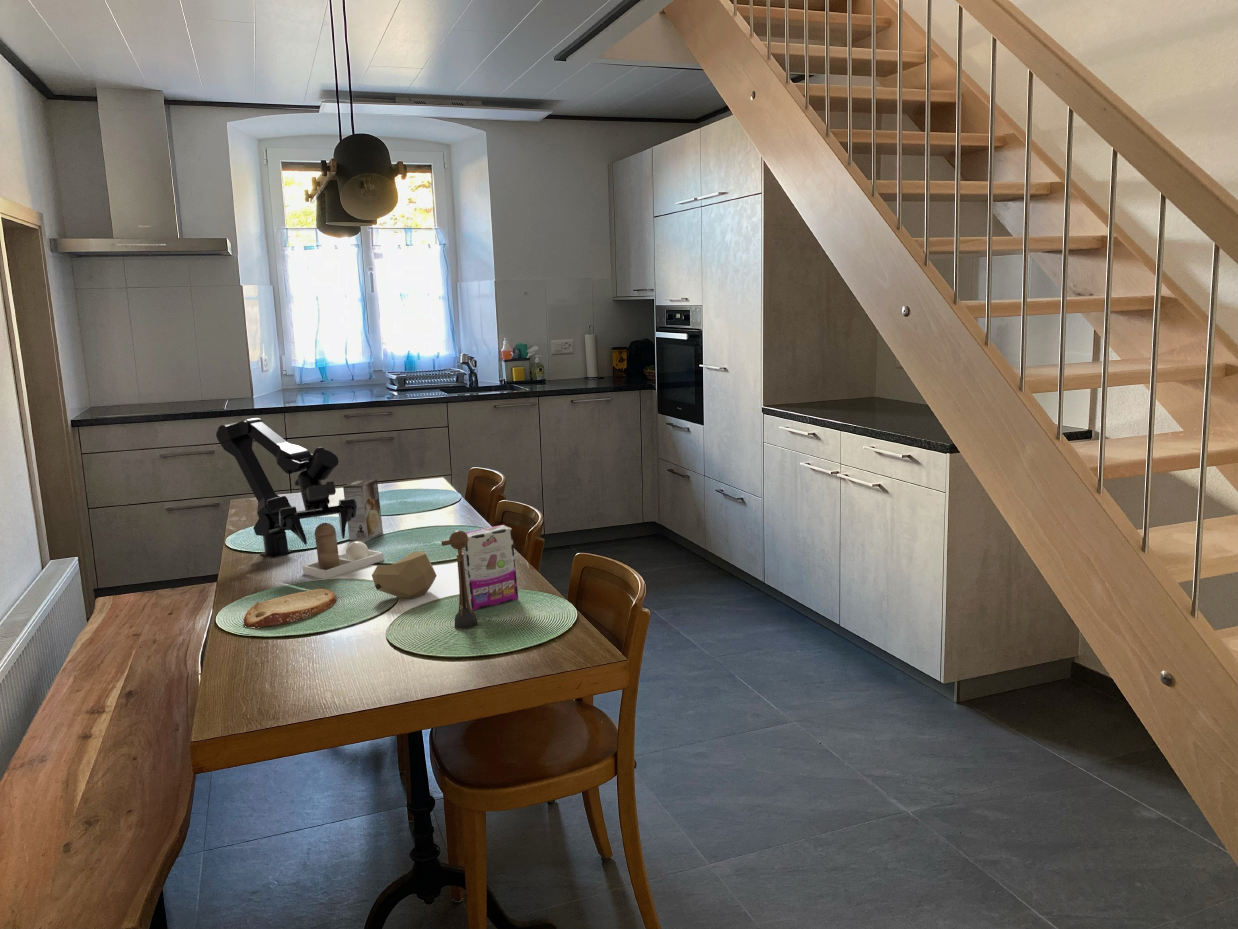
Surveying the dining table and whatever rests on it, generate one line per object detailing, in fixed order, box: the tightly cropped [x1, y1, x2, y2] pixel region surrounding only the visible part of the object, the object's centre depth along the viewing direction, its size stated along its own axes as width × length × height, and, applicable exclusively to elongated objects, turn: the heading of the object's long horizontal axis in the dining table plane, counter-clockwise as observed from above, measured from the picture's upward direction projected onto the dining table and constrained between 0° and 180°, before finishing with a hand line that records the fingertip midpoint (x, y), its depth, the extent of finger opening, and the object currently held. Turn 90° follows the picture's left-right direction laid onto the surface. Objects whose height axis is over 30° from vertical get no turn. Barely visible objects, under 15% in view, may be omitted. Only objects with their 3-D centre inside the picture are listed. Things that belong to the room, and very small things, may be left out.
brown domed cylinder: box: [314, 522, 340, 570], centre depth 225 cm, size 5×5×12 cm
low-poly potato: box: [371, 550, 437, 600], centre depth 205 cm, size 15×11×12 cm
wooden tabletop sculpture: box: [441, 529, 479, 630], centre depth 183 cm, size 6×5×20 cm
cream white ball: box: [345, 540, 369, 561], centre depth 233 cm, size 6×6×6 cm
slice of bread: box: [243, 588, 338, 629], centre depth 199 cm, size 18×18×4 cm
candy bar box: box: [462, 524, 519, 611], centre depth 196 cm, size 11×5×16 cm, turn 122°
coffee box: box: [342, 479, 384, 541], centre depth 260 cm, size 9×6×16 cm
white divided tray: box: [302, 549, 385, 580], centre depth 230 cm, size 9×18×2 cm, turn 143°
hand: (325, 540), depth 226 cm, fingers open, 9 cm apart
